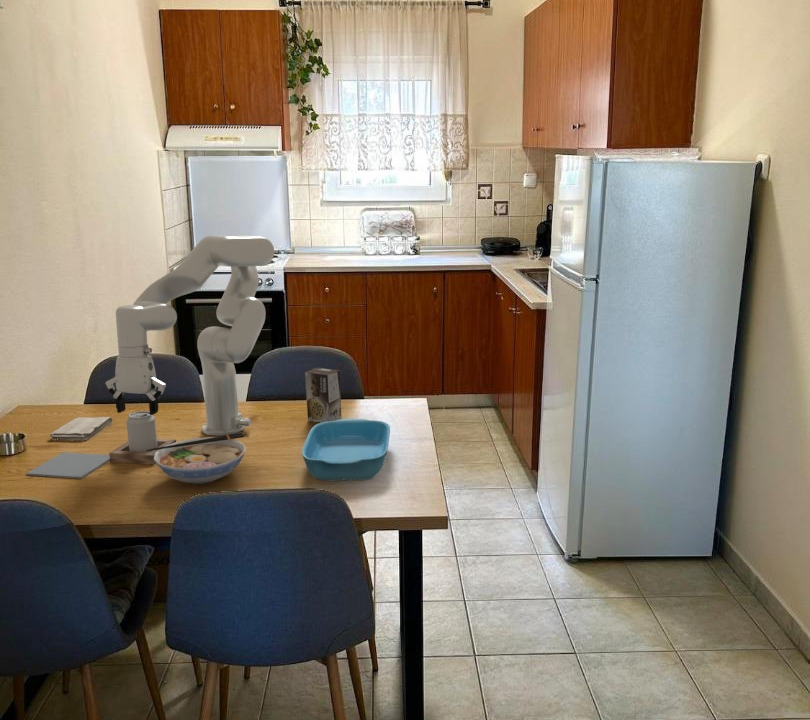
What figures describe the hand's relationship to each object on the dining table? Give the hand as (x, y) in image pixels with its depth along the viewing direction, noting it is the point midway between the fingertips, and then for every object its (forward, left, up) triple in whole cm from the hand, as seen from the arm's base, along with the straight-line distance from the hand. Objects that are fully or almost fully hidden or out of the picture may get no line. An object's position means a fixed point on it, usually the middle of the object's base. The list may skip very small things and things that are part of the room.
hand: (137, 412), depth 219 cm
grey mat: (+15, +10, -12) cm, 22 cm away
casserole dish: (-58, -4, -13) cm, 60 cm away
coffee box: (-41, -38, -13) cm, 57 cm away
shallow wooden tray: (0, -1, -12) cm, 12 cm away
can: (0, -1, -13) cm, 13 cm away
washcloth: (+29, -16, -13) cm, 36 cm away
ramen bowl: (-24, +13, -13) cm, 30 cm away
